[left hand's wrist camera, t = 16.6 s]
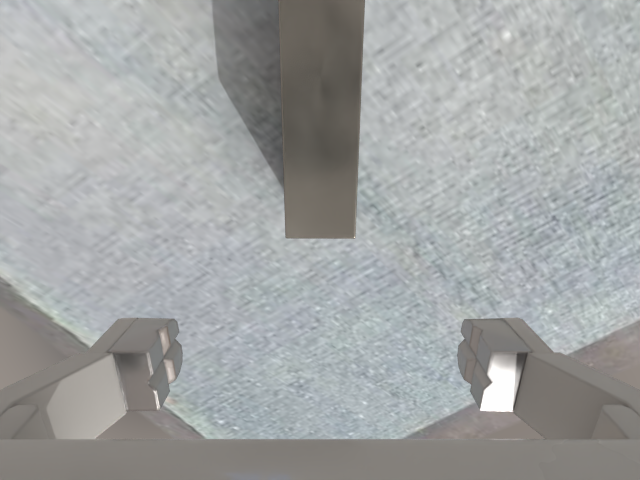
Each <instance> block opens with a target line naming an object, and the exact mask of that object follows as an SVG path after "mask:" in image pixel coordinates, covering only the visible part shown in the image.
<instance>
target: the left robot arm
mask: <svg viewBox="0 0 640 480" xmlns="http://www.w3.org/2000/svg"><path fill="white" fill-rule="evenodd" d="M178 333H179V328H178V323H177V321H176V320H175V319H165V318H121V319H118V320H117V321H116V322H115V323H114V324H113V325H112V326H111V327H110V328H109V329H108V330H107V331H106V332H105V333H104V334H103V335H102V336H101V337H100V338H99V339H98V340H97V342H96V343H95V344H94V345H93V346H92V347H91V348H90V349H89V350H88V351H87V352H86V353H78V354H76V355H74V356H72V357H70V358H67V359H65V360H63V361H61V362H59V363H57V364H54V365H52V366H50V367H48V368H46V369H44V370H42V371H39V372H37V373H35V374H33V375H31V376H29V377H27V378H24V379H22V380H20V381H18V382H16V383H14V384H11V385H9V386H7V387H5V388H3V389H1V390H0V480H640V390H639V389H637V388H635V387H633V386H631V385H628V384H626V383H624V382H622V381H620V380H618V379H616V378H613V377H611V376H609V375H607V374H605V373H603V372H601V371H598V370H596V369H594V368H592V367H590V366H588V365H585V364H583V363H581V362H579V361H577V360H575V359H573V358H570V357H568V356H566V355H564V354H562V353H554V352H553V351H552V350H551V349H550V348H549V347H548V346H547V345H546V344H545V343H544V341H543V340H542V339H541V338H540V337H539V336H538V335H537V334H536V333H535V332H534V331H533V330H532V329H531V328H530V327H529V326H528V325H527V324H526V323H525V322H524V321H523V320H522V319H520V318H496V319H464V321H463V323H462V327H461V333H462V335H463V337H464V338H465V339H464V340H463V341H462V342H461V343H460V344H459V346H458V354H457V357H458V366H459V369H460V373H461V375H462V377H463V379H464V380H466V381H467V382H468V383H470V384H471V389H470V392H471V394H472V396H473V398H474V400H475V401H476V403H477V405H478V407H479V409H480V411H514V414H515V415H517V416H518V417H519V418H520V419H522V420H523V421H524V422H525V423H526V424H528V425H529V426H530V427H531V428H533V429H534V430H535V431H536V432H538V433H539V434H540V435H541V436H543V437H544V438H545V439H95V438H96V437H97V436H99V435H100V434H101V433H102V432H104V431H105V430H106V429H107V428H109V427H110V426H111V425H112V424H114V423H115V422H116V421H117V420H119V419H120V418H121V417H122V416H124V415H125V414H126V411H160V409H161V407H162V405H163V403H164V401H165V400H166V398H167V396H168V394H169V392H170V389H169V384H170V383H172V382H173V381H174V380H176V379H177V377H178V375H179V373H180V369H181V365H182V354H183V353H182V346H181V344H180V343H179V342H178V341H177V340H176V339H175V338H176V337H177V335H178Z"/></svg>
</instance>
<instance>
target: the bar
mask: <svg viewBox="0 0 640 480" xmlns="http://www.w3.org/2000/svg"><path fill="white" fill-rule="evenodd" d="M278 7H279V40H280V72H281V105H282V137H283V170H284V202H285V235H286V238H331V239H355V234H356V209H357V183H358V158H359V133H360V108H361V83H362V58H363V33H364V8H365V0H278Z"/></svg>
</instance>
